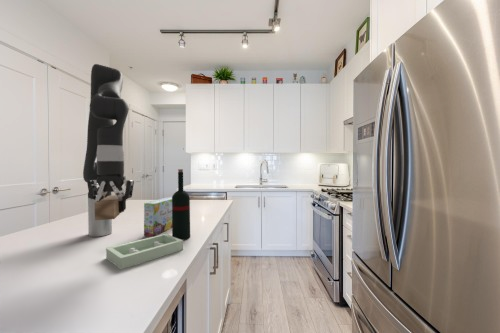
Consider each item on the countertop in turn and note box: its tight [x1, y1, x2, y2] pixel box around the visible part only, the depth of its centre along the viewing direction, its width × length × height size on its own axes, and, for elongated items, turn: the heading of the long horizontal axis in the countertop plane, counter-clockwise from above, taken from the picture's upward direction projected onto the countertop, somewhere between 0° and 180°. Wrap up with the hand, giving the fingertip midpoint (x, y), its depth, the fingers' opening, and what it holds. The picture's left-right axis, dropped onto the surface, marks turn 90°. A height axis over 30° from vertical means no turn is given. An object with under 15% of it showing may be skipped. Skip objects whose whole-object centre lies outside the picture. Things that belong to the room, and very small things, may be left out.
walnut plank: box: [95, 194, 121, 220], centre depth 77 cm, size 5×15×5 cm, turn 17°
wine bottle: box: [171, 168, 191, 241], centre depth 105 cm, size 8×10×30 cm
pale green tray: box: [105, 233, 184, 270], centre depth 86 cm, size 13×22×4 cm, turn 138°
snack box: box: [143, 196, 172, 238], centre depth 116 cm, size 21×6×15 cm, turn 168°
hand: (111, 211), depth 77 cm, fingers closed on walnut plank, 6 cm apart
